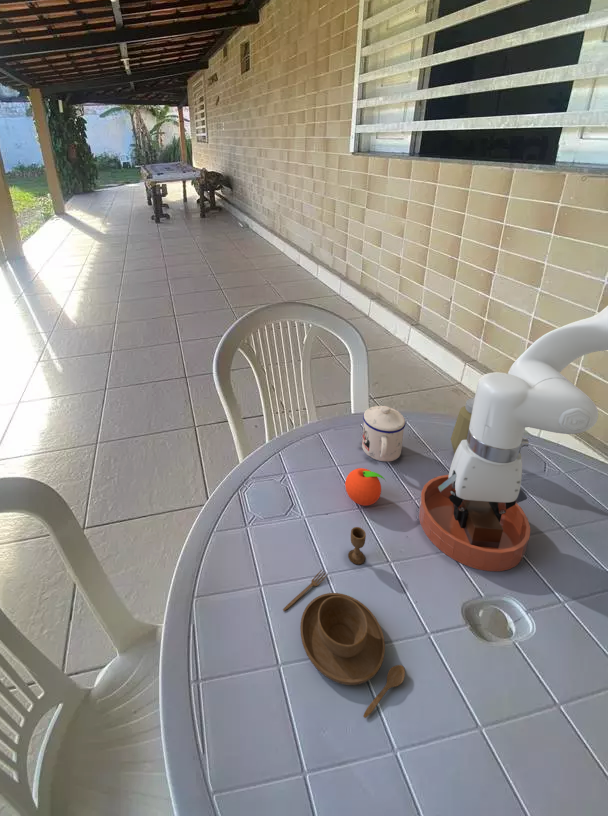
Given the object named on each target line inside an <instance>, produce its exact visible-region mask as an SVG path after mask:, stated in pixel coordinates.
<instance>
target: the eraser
mask: <svg viewBox="0 0 608 816" xmlns="http://www.w3.org/2000/svg"><path fill="white" fill-rule="evenodd" d="M455 493H456V492H455ZM453 506H454V508H455V504H453ZM467 511H468V517H467V522H466V527H465V528H463V529H464V531H465V533H466V535H467V538H468V540H469V542H470V544H471V545H474V546H480V547H492V548H499V544H500V540H501V536H502V533H503V528H502V526H501V524H500V522H499V521H498V519H497V517H496V515H495V513H494V511H493V510H492V508H491V506H490V504H489V502H488V501H474V500H471V501H470V503H469V505H468V507H467Z"/></svg>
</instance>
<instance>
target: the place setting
mask: <svg viewBox="0 0 608 816" xmlns="http://www.w3.org/2000/svg"><path fill="white" fill-rule="evenodd" d="M366 535H367V534H366V531H365V530H364V529H363V528H362V527H359V526H354V527H352V528H351V530H350V542H351V545H352V546H353V547H354V548H353V549H351V550H349V551H348V554H347V557H348V559H349V561H350V562H351V563H352V564H354V565H357V566H359V565H362V564H364V563H365V560H366V557H365V554H364V553H363V552H362V551H361V549H363V548H364V546H365V544H366V538H367V537H366ZM327 576H328V574H327V572H325V570H323V569H320V570H319V572H318V573H317V574H315V576H314V577H313V578H312V579H311V581H310V582H311V583H310V584H309V585H307V586H306V587H305V588H304V589H303V590H301V592H300V593H298V594H297V595H296V596H295V597H294V598H293V599H292V600H291V601H290V602H289V603H288V604H287V605H285V606H284V608H282V611H283V612H285V611H287V610H288V609H289V608H290V607H292V606H293V605H294V604H295V603H296V602H297V601H298V600H300V599H301V598H303V596H305V594H306V593H307V592H308V591H309V590H310V589H311V588H312V587H319V585H320V584H321V583H322V582H323V581H324V580H325V579H326V577H327ZM299 629H300V640H301V643H302V647H303V649H304V652H305V654H306V656H307V658H308V659H309V661H310V662H311V664H312V665H313V666H314V667H315V668H316V669H317V670H318V672H320V674H322V675H323V676H325V677H326V678H327V679H330V680H331V681H332V682H335V683H337V684H341V685H346V686H357V685H361V684H364V683H366V682H369V681H370V680H371V679H373V678H374V677H375V676H376V675H377V674H378V672H379V671H380V670H381V667H382V664H383V663H384V659H385V654H386V653H385V652H386V643H385V642H386V641H385V636H384V633H383V630H382V627H381V625H380V622H379V621H378V619H377V618H376V616H375V615H374V614H373V612H372V611H371V610H370V609H369V608H368V607H367V606H366V605H365V604H364V603H363V602H361V601H359V600H358V599H356V598H354V597H352V596H350V595H347V594H345V593H340V592H327V593H323V594H319V595H318V596H316V597H315V598H313V599H311V601H310V602H309V603H308V604H307V605H306V606H305V608H304V611H303V612H302V615H301V618H300V628H299ZM405 677H406V669H405V667H404V666H403V665H402V664H396V665H394V666H392V667H391V668H390V669H389V670H388V672H387V675H386V683H385V685H384V687H382V689H381V690H380V692H379V693H378V694H377V695H376V696H375V698H374V699H373V700H372V701H371V703H370V704H369V705H368V706H367V707H366V709H365V711H364V713H363V718H364V719H366V718H368V717H369V716H370V715H371V714H372V713H373V711H374V710H375V709H376V708H377V706H378V705H379V703H380V702H381V700H382V699H383V697H384V696H385V695H386V693H388V691H389V690H390V689H391V688H397V687H399V686H400V685H402V684H403V682H404V680H405Z"/></svg>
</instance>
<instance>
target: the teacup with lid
mask: <svg viewBox="0 0 608 816" xmlns="http://www.w3.org/2000/svg"><path fill="white" fill-rule="evenodd" d="M362 420H363V427H362V428H363V429H362V430H363V431H362V438H361V439H362V440H361V448H362V450H363V452H364V453H365V454H366V456H368V457H370V458H371V459H373V460H376V461H379V462H393V461H396V460H397V459H398V458H400V457H401V454H402V448H403V440H404V430H405V428H406V425H407V424H406V423H407V422H406V419H405V417H404V415H403V414H402V413H401V412H400V411H398V410H397V409H395V408H393V407H389V406H387V405H375V406H371V407H369V408H367V409H366V410H364V413H363V415H362Z"/></svg>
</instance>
